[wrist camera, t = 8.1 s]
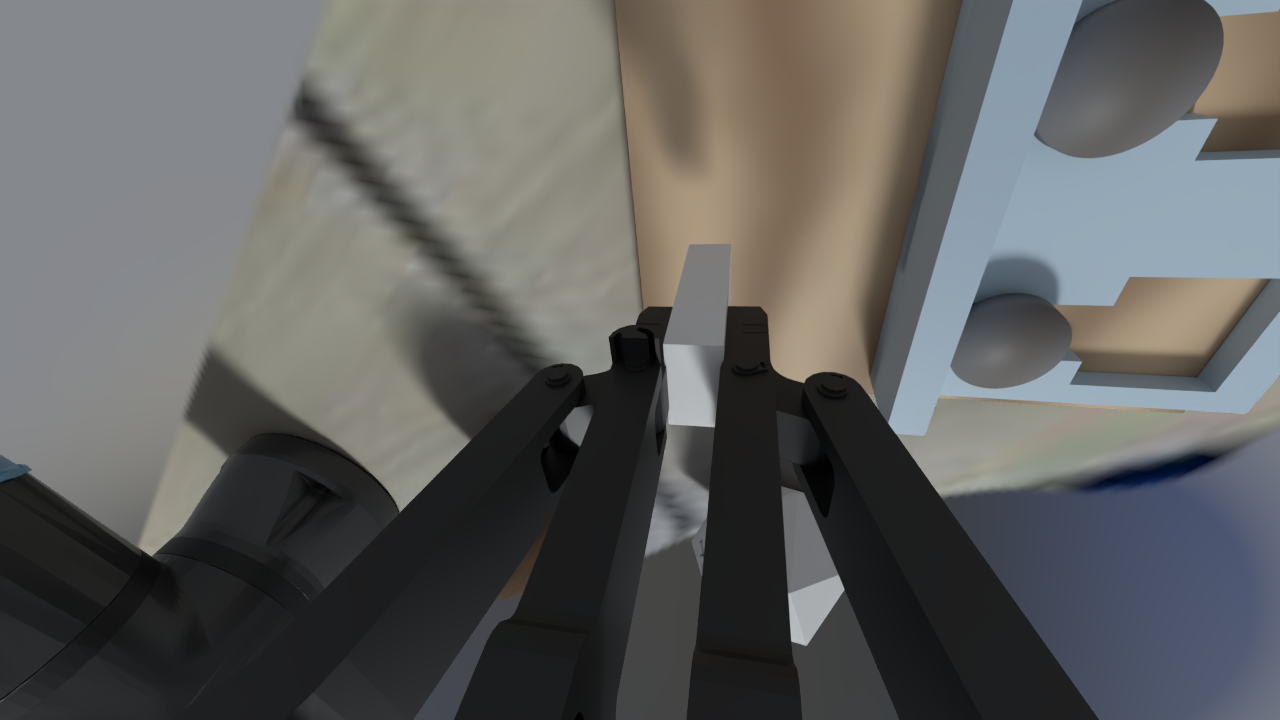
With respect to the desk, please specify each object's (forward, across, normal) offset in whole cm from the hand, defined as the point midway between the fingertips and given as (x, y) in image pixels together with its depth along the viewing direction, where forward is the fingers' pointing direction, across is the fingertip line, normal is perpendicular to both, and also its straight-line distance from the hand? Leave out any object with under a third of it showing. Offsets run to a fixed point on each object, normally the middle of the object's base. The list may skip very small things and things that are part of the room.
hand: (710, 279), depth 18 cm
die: (+5, +3, -19) cm, 20 cm away
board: (+5, +8, +1) cm, 10 cm away
